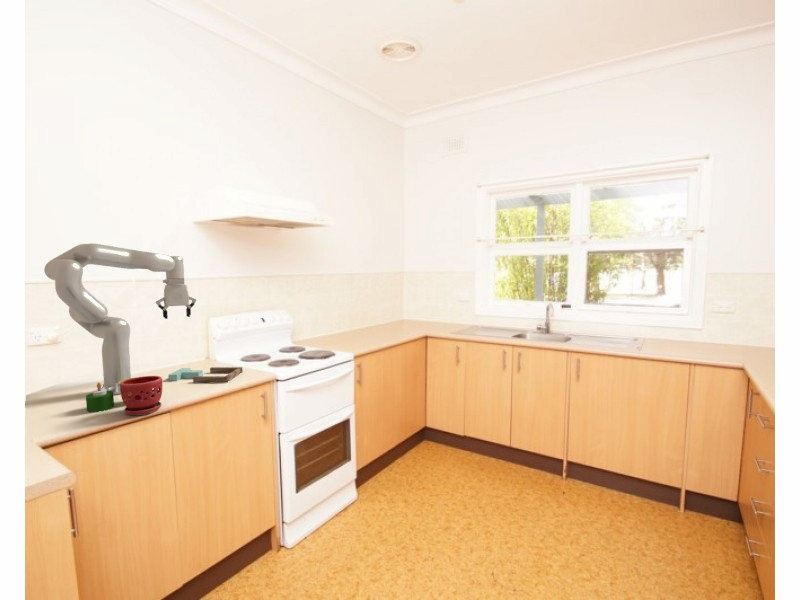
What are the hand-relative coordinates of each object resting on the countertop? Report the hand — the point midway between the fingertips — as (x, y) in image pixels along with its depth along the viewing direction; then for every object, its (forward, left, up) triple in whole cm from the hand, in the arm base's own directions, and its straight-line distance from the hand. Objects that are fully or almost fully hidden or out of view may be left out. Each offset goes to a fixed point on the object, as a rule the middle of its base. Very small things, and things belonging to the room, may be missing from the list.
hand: (177, 317), depth 196 cm
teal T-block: (-3, -6, -28) cm, 29 cm away
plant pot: (-48, -13, -29) cm, 57 cm away
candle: (-45, +5, -29) cm, 54 cm away
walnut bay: (-3, -20, -28) cm, 35 cm away
